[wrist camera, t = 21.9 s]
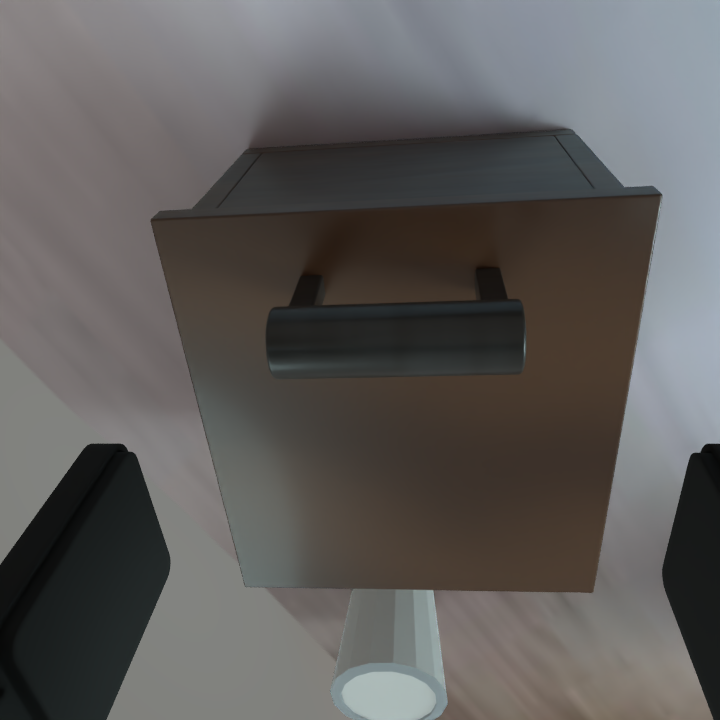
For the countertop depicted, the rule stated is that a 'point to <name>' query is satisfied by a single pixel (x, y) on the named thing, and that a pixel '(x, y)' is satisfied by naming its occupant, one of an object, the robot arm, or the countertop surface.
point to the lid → (414, 381)
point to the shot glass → (390, 657)
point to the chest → (410, 170)
